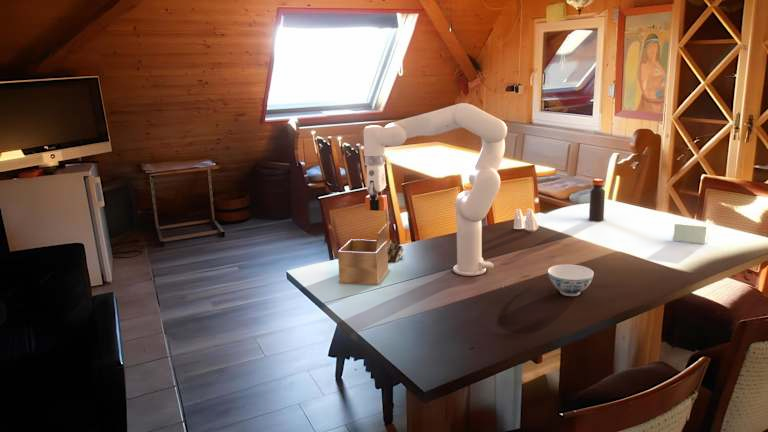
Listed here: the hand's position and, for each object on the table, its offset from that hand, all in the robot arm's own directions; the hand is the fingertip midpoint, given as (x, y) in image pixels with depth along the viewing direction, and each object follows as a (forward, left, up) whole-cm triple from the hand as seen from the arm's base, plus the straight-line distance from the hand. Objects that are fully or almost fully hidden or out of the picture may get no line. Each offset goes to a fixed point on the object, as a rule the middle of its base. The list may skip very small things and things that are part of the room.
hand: (376, 208), depth 222 cm
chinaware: (-70, +4, -28) cm, 75 cm away
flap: (-2, -1, -11) cm, 11 cm away
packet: (0, 0, 0) cm, 0 cm away
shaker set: (-52, -72, -28) cm, 93 cm away
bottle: (-85, -95, -28) cm, 130 cm away
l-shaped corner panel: (-122, -67, -28) cm, 142 cm away
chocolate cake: (0, -23, -28) cm, 36 cm away
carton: (+6, -1, -28) cm, 28 cm away
